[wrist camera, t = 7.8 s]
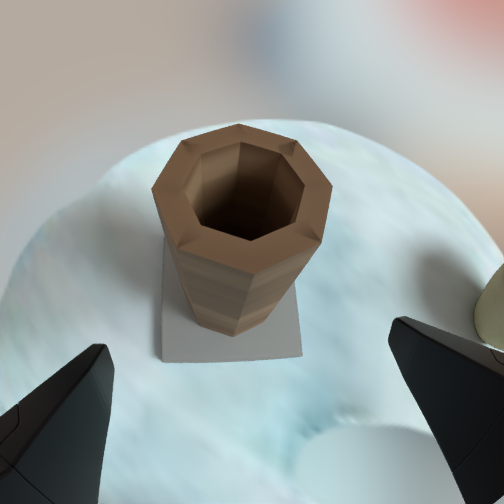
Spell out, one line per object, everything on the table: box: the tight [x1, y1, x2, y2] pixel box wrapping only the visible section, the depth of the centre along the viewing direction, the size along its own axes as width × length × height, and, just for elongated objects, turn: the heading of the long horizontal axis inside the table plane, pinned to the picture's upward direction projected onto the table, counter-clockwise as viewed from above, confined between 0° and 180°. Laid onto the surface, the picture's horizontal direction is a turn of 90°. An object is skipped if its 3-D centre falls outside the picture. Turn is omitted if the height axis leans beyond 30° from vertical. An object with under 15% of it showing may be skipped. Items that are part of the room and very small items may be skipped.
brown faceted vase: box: [151, 124, 333, 337], centre depth 16 cm, size 6×6×13 cm
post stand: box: [162, 237, 303, 363], centre depth 20 cm, size 10×10×5 cm
